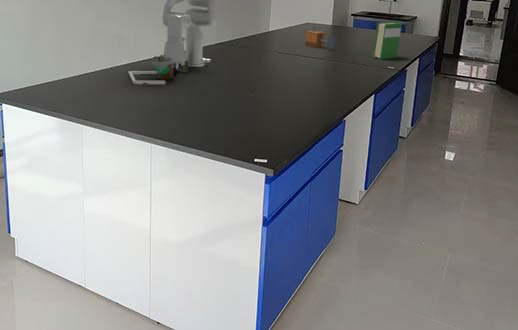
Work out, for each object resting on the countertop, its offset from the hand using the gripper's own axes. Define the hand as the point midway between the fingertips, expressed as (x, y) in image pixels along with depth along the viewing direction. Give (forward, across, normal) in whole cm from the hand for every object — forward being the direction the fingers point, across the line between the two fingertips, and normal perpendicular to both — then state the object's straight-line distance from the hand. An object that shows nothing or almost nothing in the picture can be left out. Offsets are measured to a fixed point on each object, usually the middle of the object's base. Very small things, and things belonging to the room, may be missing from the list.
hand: (173, 76), depth 288 cm
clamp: (0, -130, -101) cm, 164 cm away
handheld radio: (+2, -3, -26) cm, 26 cm away
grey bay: (+2, +13, -1) cm, 13 cm away
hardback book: (0, -163, -64) cm, 175 cm away
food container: (+1, +5, 0) cm, 5 cm away
